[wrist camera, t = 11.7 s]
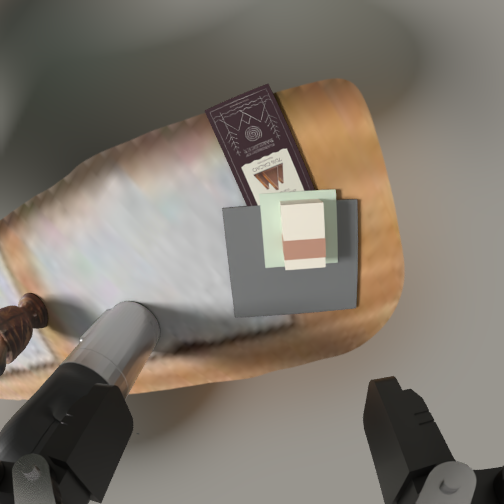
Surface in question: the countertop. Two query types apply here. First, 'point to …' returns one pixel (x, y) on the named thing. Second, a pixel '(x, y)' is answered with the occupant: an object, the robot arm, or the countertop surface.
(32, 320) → the mortar and pestle
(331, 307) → the mat
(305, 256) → the card box
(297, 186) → the chocolate bar
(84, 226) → the countertop surface
